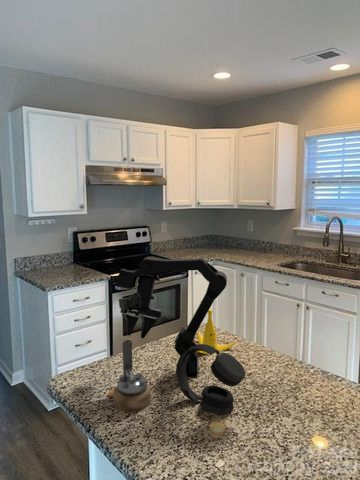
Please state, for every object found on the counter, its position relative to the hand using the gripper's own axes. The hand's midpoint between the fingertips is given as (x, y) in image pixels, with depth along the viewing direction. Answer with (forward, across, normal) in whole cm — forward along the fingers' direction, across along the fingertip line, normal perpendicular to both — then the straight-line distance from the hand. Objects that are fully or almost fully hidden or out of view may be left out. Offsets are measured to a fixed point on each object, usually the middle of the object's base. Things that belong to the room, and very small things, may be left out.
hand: (135, 336), depth 125 cm
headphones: (+15, +24, +16) cm, 33 cm away
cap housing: (+19, +7, -2) cm, 21 cm away
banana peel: (-1, -8, +41) cm, 42 cm away
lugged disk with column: (+17, +6, -1) cm, 18 cm away
